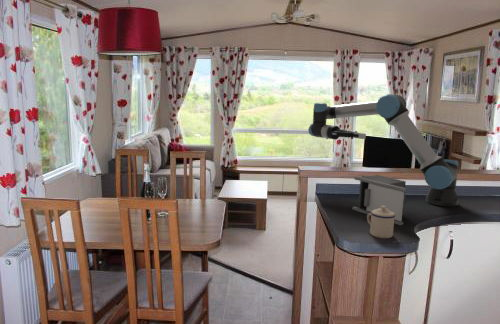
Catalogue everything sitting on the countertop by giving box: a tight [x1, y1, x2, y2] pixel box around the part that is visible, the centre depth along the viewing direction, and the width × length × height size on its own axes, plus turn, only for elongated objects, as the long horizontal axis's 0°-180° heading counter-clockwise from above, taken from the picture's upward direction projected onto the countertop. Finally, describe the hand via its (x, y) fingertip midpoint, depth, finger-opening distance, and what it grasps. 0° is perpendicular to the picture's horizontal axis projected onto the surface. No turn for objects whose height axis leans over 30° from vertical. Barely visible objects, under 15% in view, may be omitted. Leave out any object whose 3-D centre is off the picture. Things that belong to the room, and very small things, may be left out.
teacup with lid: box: [366, 206, 395, 239], centre depth 158 cm, size 12×9×12 cm
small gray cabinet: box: [351, 174, 407, 226], centre depth 183 cm, size 14×27×16 cm, turn 33°
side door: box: [364, 183, 404, 222], centre depth 176 cm, size 3×18×13 cm, turn 33°
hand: (364, 136), depth 201 cm, fingers closed
